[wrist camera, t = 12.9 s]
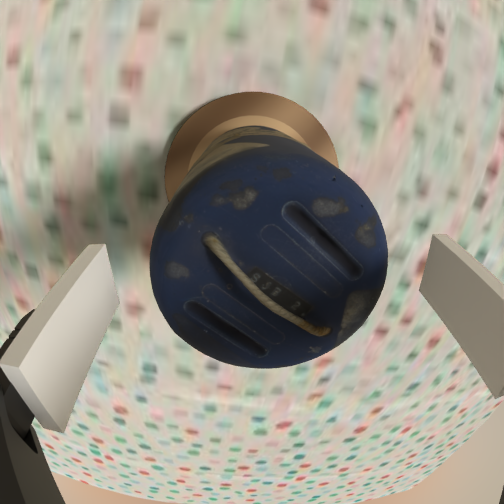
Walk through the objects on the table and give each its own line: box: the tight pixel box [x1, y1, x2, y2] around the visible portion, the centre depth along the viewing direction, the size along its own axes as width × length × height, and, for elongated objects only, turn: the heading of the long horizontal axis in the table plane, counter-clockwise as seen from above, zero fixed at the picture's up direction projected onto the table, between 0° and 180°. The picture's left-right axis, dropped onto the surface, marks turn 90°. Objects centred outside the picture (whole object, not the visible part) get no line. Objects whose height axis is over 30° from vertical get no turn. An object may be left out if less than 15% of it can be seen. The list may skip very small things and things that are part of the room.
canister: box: [150, 125, 388, 368], centre depth 18 cm, size 10×10×18 cm
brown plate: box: [165, 92, 339, 202], centre depth 27 cm, size 15×15×1 cm
